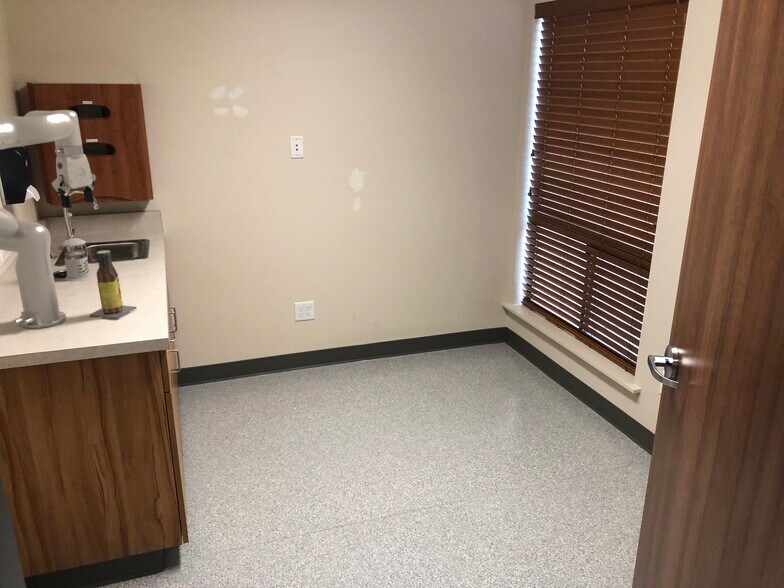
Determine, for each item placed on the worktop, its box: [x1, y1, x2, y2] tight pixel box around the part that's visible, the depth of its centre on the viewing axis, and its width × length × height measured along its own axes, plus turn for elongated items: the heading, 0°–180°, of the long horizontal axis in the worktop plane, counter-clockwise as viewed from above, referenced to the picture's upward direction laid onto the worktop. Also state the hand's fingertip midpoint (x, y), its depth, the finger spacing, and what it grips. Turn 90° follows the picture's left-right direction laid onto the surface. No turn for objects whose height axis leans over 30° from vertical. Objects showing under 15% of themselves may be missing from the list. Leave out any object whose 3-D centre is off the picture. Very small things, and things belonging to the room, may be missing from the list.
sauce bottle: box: [96, 249, 124, 314], centre depth 190 cm, size 7×6×20 cm
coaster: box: [89, 304, 138, 320], centre depth 194 cm, size 10×10×1 cm
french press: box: [61, 212, 94, 282], centre depth 224 cm, size 10×12×25 cm
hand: (78, 204), depth 194 cm, fingers open, 9 cm apart
